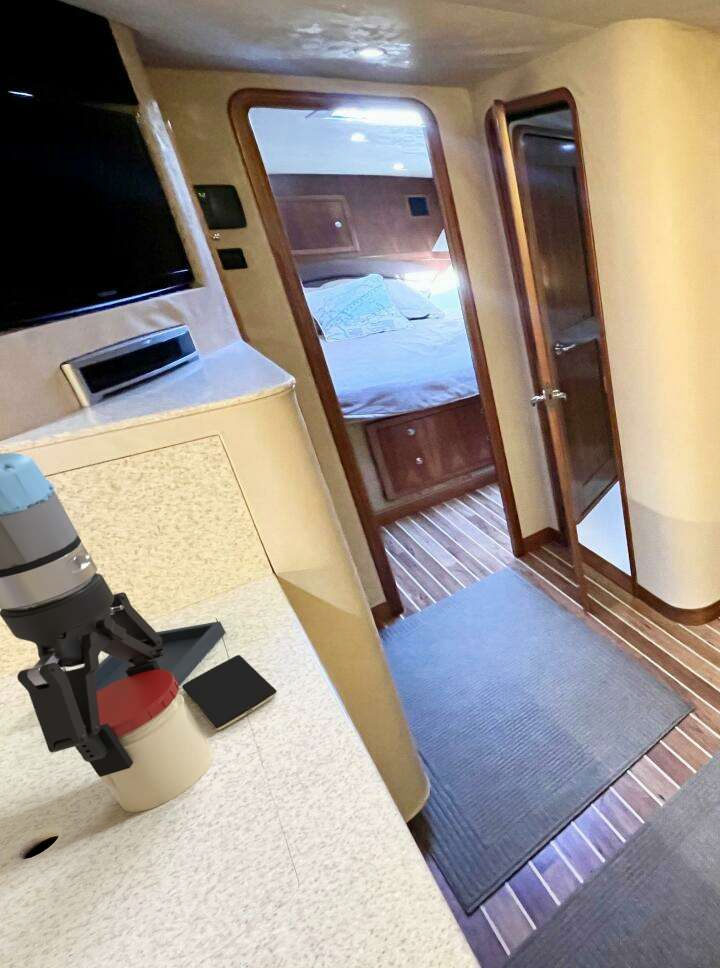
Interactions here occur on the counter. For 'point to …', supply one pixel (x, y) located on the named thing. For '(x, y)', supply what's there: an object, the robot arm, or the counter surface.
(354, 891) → the counter surface
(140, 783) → the jar
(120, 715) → the lid
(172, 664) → the tray
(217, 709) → the smartphone
